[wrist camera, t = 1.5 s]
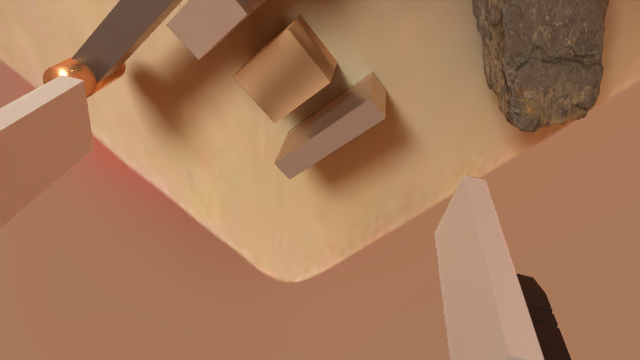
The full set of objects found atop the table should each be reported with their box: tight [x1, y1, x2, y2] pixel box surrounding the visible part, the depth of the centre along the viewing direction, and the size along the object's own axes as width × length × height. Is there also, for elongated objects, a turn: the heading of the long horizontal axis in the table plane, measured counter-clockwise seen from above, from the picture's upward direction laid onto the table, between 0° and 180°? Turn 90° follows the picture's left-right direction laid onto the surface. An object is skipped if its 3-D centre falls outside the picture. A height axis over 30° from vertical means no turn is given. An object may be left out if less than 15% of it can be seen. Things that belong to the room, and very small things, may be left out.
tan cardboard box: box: [233, 15, 337, 123], centre depth 34 cm, size 5×6×5 cm
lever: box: [43, 0, 266, 98], centre depth 29 cm, size 7×23×6 cm, turn 129°
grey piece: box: [275, 72, 386, 179], centre depth 31 cm, size 21×16×6 cm
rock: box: [473, 0, 609, 132], centre depth 29 cm, size 17×7×10 cm
